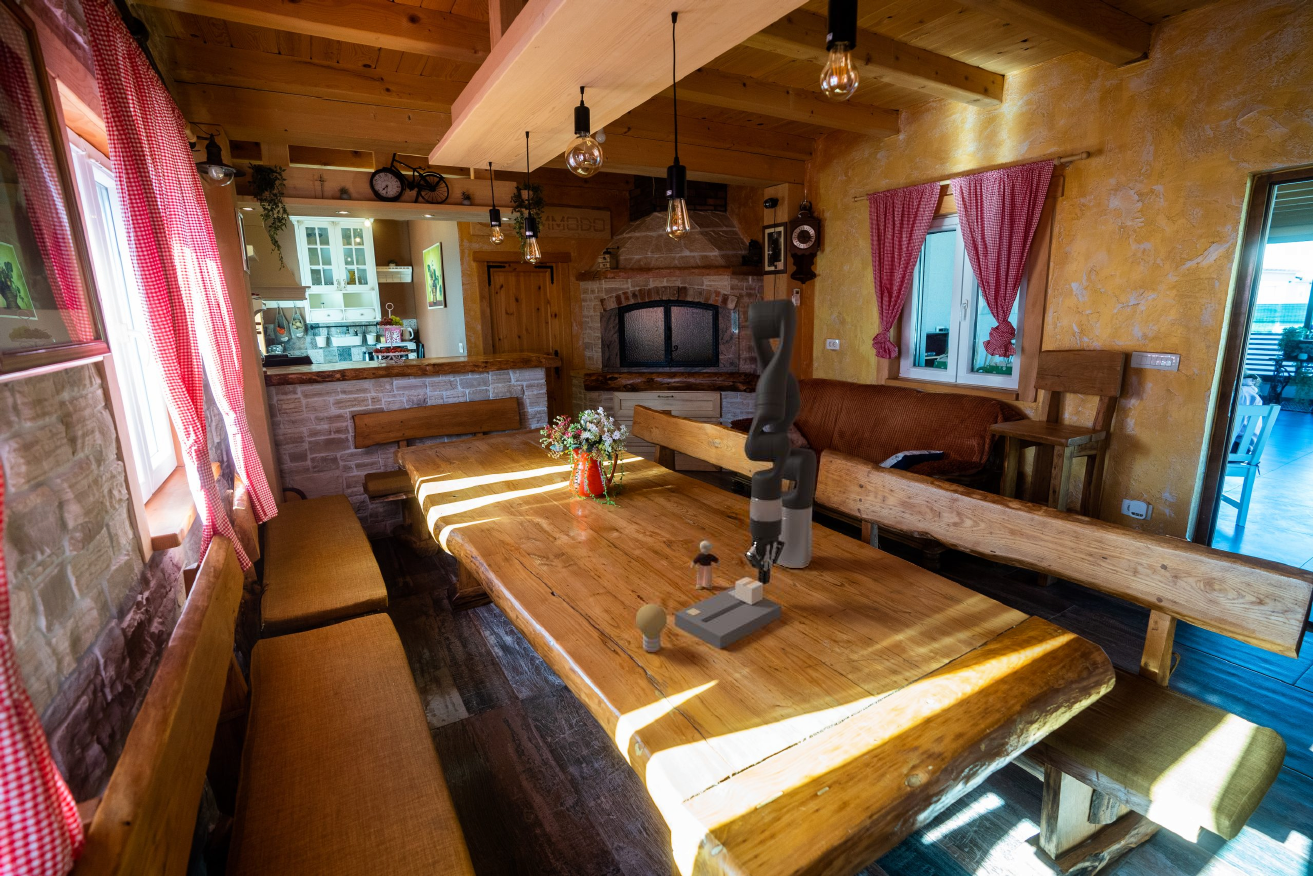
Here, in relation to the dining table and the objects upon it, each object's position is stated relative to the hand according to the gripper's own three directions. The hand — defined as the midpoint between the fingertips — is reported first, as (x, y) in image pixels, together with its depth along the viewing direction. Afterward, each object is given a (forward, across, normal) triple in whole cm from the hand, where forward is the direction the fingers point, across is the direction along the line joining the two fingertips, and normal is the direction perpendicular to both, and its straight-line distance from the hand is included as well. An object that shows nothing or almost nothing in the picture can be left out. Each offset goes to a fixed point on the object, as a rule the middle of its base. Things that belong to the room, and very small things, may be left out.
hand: (763, 582), depth 152 cm
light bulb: (+6, +33, -3) cm, 34 cm away
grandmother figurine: (+6, +3, -16) cm, 17 cm away
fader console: (+6, +12, 0) cm, 14 cm away
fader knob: (+2, +5, 0) cm, 6 cm away
